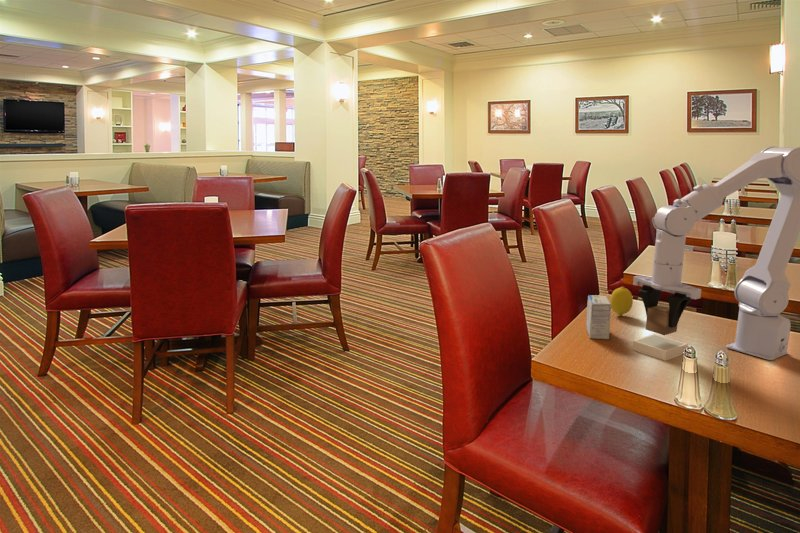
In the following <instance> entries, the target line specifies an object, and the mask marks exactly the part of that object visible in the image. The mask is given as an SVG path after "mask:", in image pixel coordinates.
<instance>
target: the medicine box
mask: <svg viewBox="0 0 800 533" xmlns="http://www.w3.org/2000/svg"><path fill="white" fill-rule="evenodd" d="M586 305H587V306H586V320H585V321H586V322H585V329H586V331H587V334H588V337H589V339H595V340H609V339H610V331H611V330H610V328H611V316H612V315H611V314H612V308H611V304H610V300H609V298H608V297H607V296H606V295H599V294H598V295H597V294H595V295H594V294H592V295H591V294H588V296H587V304H586Z"/></svg>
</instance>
